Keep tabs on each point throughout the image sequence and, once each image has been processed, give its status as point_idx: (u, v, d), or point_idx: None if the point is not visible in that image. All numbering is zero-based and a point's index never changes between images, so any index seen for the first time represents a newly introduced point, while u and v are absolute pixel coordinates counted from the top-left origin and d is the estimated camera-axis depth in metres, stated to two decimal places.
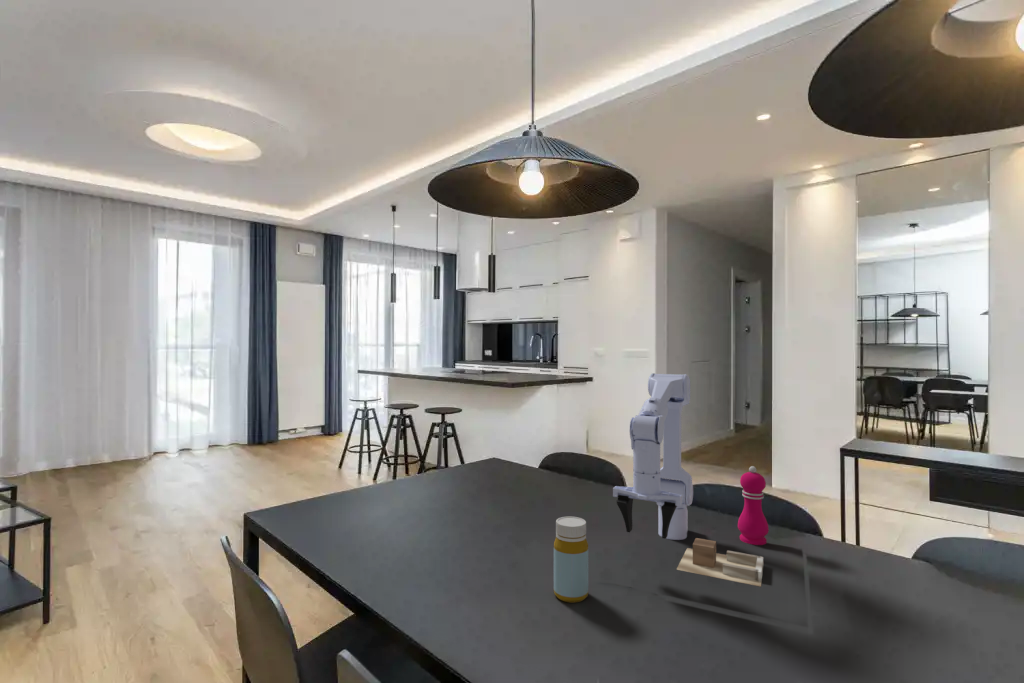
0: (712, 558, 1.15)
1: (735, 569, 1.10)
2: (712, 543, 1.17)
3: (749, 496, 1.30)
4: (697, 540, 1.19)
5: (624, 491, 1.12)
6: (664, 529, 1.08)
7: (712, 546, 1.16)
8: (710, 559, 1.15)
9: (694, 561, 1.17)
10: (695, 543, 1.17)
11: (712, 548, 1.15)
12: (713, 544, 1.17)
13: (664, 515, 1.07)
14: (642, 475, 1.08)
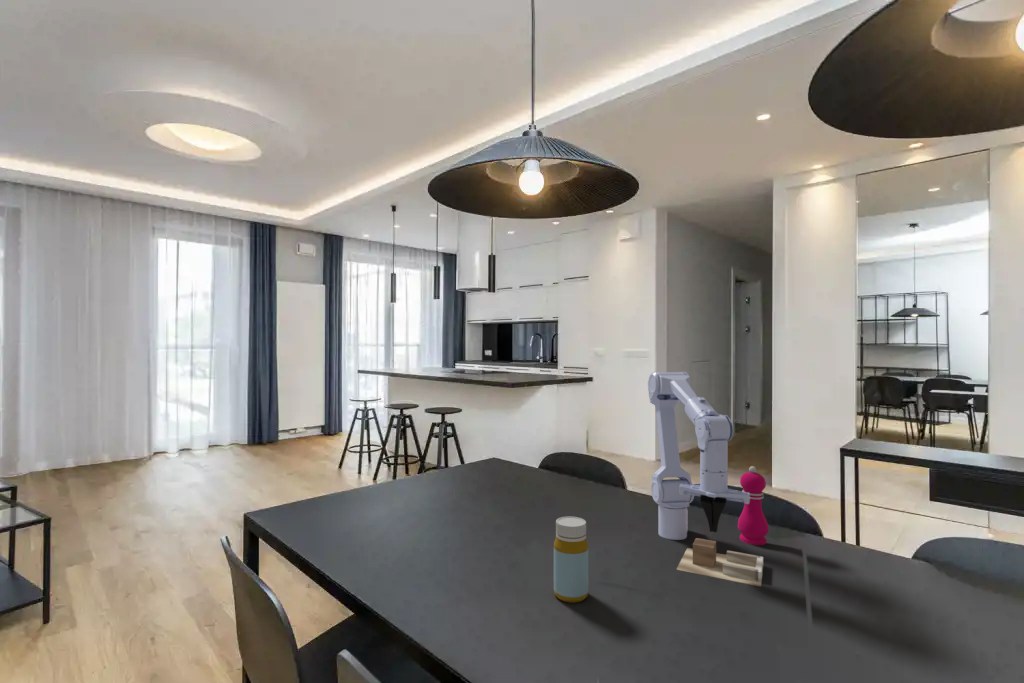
0: (712, 558, 1.15)
1: (735, 569, 1.10)
2: (712, 543, 1.17)
3: None
4: (697, 540, 1.19)
5: (691, 489, 1.15)
6: (715, 523, 1.12)
7: (712, 546, 1.16)
8: (710, 559, 1.15)
9: (694, 561, 1.17)
10: (695, 543, 1.17)
11: (712, 548, 1.15)
12: (713, 544, 1.17)
13: (716, 510, 1.12)
14: (711, 474, 1.12)
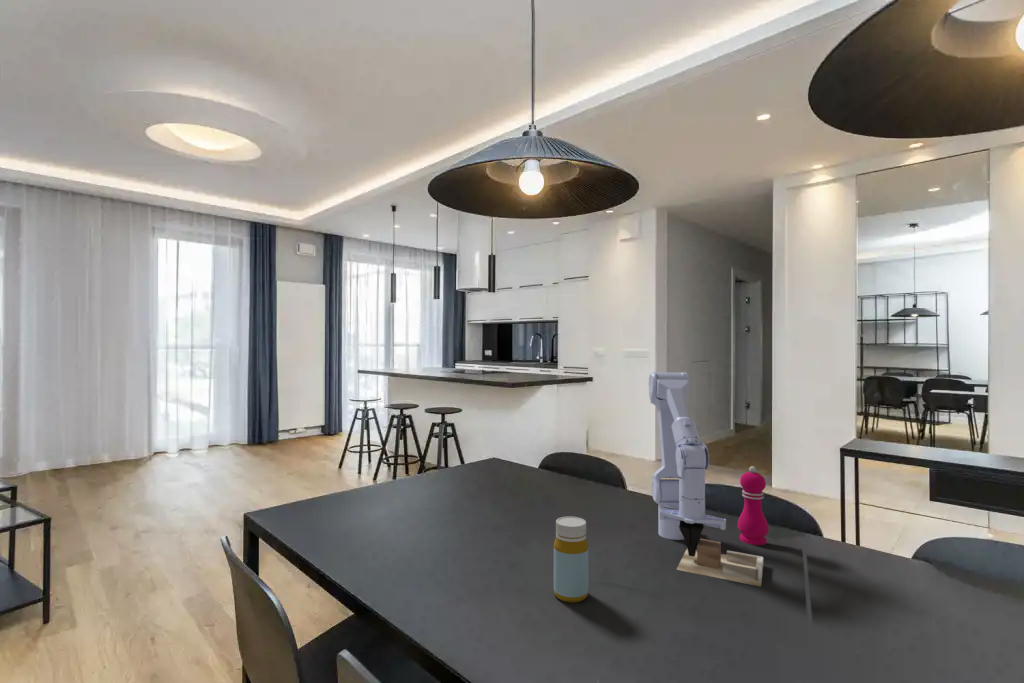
0: (717, 559, 1.14)
1: (735, 569, 1.10)
2: (717, 544, 1.17)
3: (749, 496, 1.30)
4: (702, 541, 1.19)
5: (671, 515, 1.20)
6: (693, 548, 1.18)
7: (717, 547, 1.15)
8: (715, 560, 1.14)
9: (698, 562, 1.16)
10: (700, 544, 1.17)
11: (717, 549, 1.14)
12: (718, 545, 1.16)
13: (693, 535, 1.17)
14: (688, 500, 1.17)
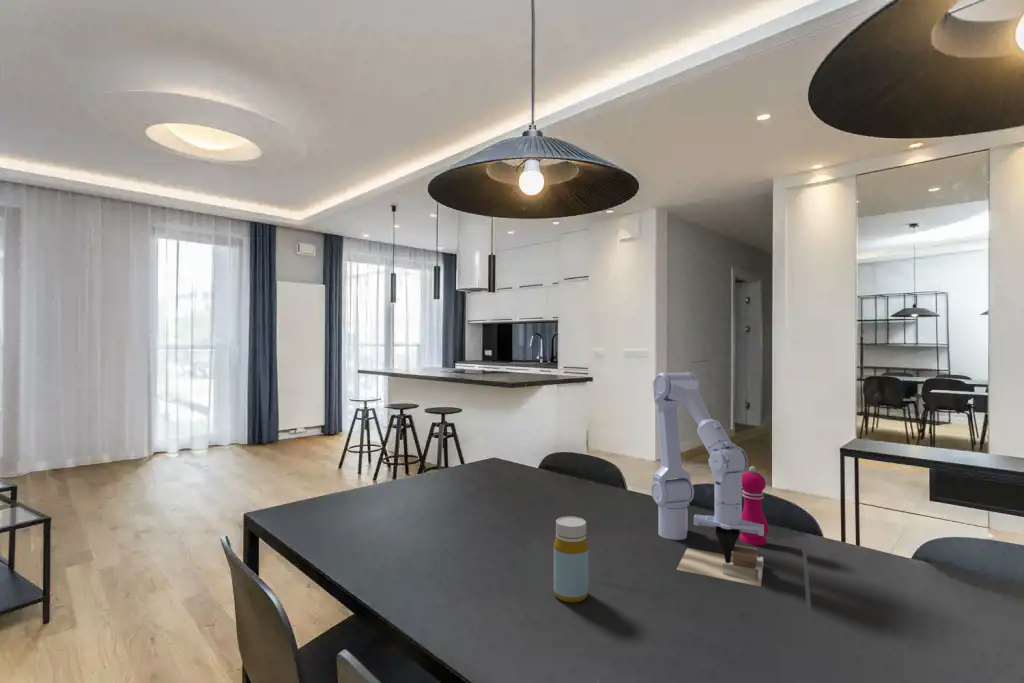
0: (754, 566, 1.11)
1: (735, 569, 1.10)
2: (753, 550, 1.13)
3: (749, 496, 1.30)
4: (737, 547, 1.15)
5: (706, 520, 1.16)
6: (728, 554, 1.14)
7: (754, 553, 1.11)
8: (752, 567, 1.11)
9: None
10: (735, 550, 1.13)
11: (754, 556, 1.11)
12: (754, 551, 1.13)
13: (729, 541, 1.13)
14: (725, 506, 1.13)
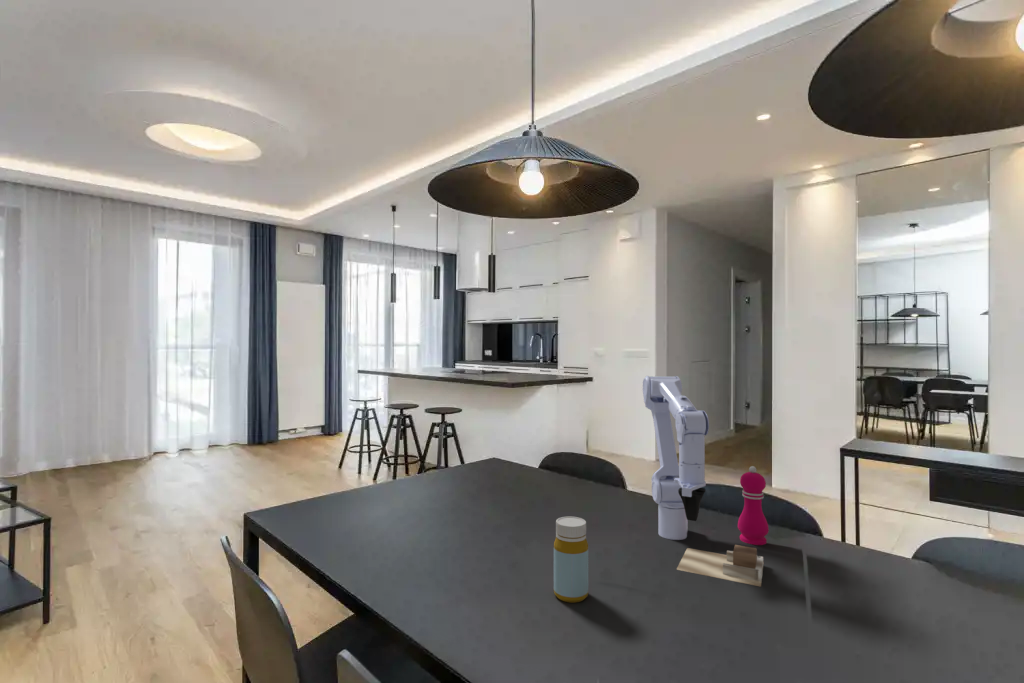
0: (754, 566, 1.11)
1: (735, 569, 1.10)
2: (753, 550, 1.13)
3: (749, 496, 1.30)
4: (737, 547, 1.15)
5: None
6: None
7: (754, 553, 1.11)
8: (752, 567, 1.11)
9: None
10: (735, 550, 1.13)
11: (754, 556, 1.11)
12: (754, 551, 1.13)
13: None
14: None
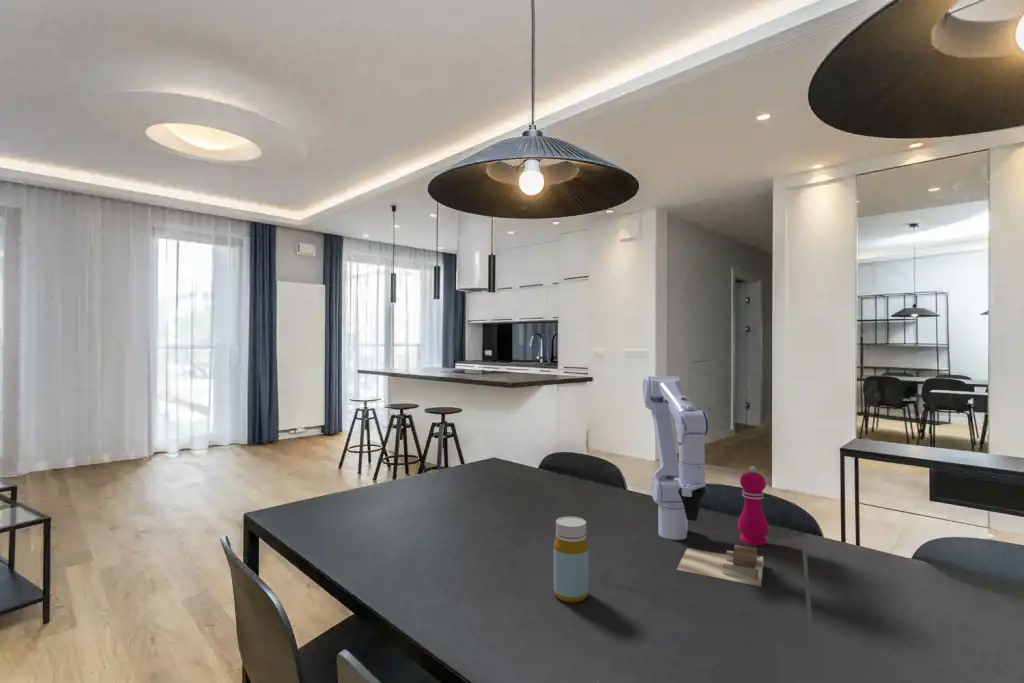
0: (754, 566, 1.11)
1: (735, 569, 1.10)
2: (753, 550, 1.13)
3: (749, 496, 1.30)
4: (737, 547, 1.15)
5: None
6: None
7: (754, 553, 1.11)
8: (752, 567, 1.11)
9: None
10: (735, 550, 1.13)
11: (754, 556, 1.11)
12: (754, 551, 1.13)
13: None
14: None
